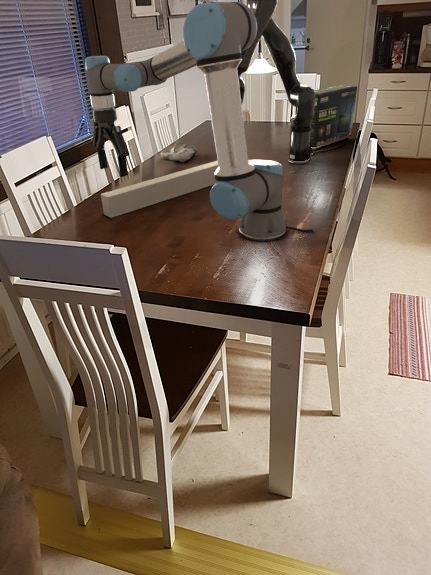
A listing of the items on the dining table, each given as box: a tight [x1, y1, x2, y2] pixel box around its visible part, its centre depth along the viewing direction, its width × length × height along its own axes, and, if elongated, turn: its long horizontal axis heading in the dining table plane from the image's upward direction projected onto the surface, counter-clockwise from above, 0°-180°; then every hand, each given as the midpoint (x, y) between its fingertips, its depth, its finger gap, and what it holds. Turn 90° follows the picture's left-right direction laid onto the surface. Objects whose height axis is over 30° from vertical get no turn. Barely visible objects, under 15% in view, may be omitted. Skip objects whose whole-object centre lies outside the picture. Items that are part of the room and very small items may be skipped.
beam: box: [100, 160, 218, 219], centre depth 184 cm, size 69×5×8 cm, turn 132°
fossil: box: [160, 142, 199, 163], centre depth 229 cm, size 18×11×15 cm
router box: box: [310, 84, 358, 147], centre depth 238 cm, size 36×11×27 cm, turn 134°
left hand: (113, 172), depth 162 cm, fingers open, 13 cm apart
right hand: (234, 168), depth 201 cm, fingers closed on beam, 5 cm apart
